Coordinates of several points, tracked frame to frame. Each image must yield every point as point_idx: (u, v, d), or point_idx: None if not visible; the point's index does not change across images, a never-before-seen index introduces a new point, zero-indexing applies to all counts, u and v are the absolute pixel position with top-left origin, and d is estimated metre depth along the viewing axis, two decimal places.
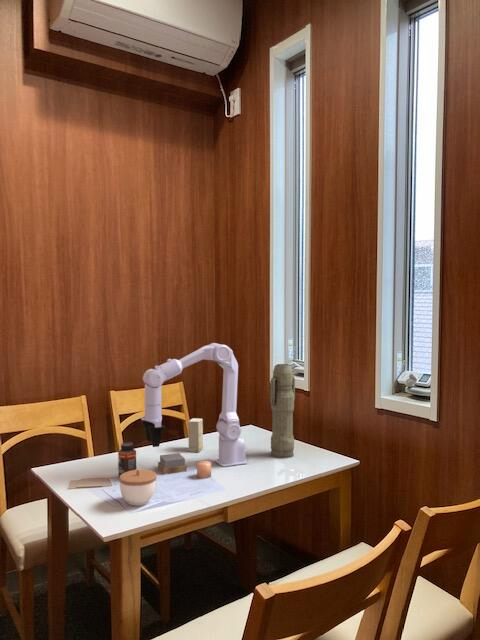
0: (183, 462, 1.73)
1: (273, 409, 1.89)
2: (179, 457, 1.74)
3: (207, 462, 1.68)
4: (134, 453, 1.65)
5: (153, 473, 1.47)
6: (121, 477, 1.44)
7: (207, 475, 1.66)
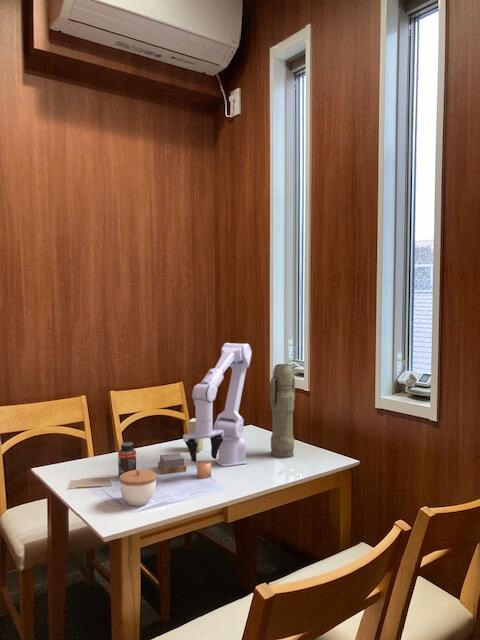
0: (182, 462, 1.73)
1: (273, 409, 1.89)
2: (179, 457, 1.74)
3: (207, 462, 1.68)
4: (134, 453, 1.65)
5: (153, 473, 1.47)
6: (121, 477, 1.44)
7: (207, 475, 1.66)
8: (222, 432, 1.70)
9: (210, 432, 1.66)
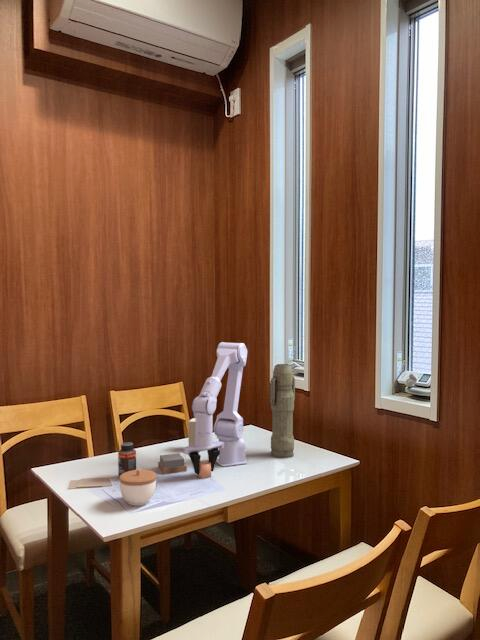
0: (182, 462, 1.72)
1: (273, 409, 1.89)
2: (179, 457, 1.74)
3: (207, 462, 1.68)
4: (134, 453, 1.65)
5: (153, 473, 1.47)
6: (121, 477, 1.44)
7: (207, 475, 1.66)
8: (222, 444, 1.70)
9: (210, 445, 1.66)
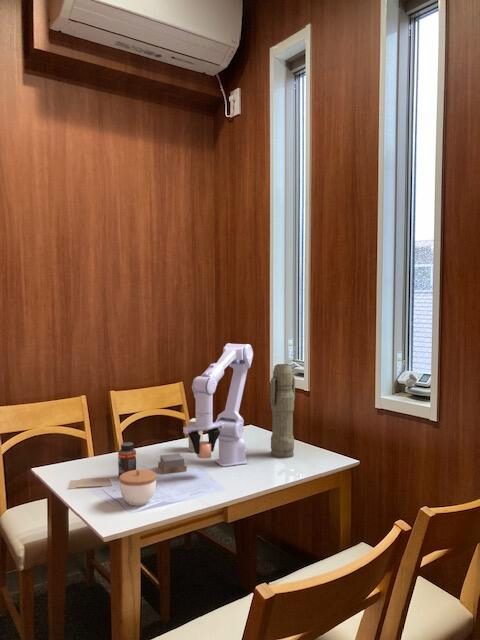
0: (182, 462, 1.72)
1: (273, 409, 1.89)
2: (179, 457, 1.73)
3: (207, 442, 1.68)
4: (134, 453, 1.65)
5: (153, 473, 1.47)
6: (121, 477, 1.44)
7: (207, 455, 1.65)
8: (222, 425, 1.70)
9: (210, 424, 1.66)
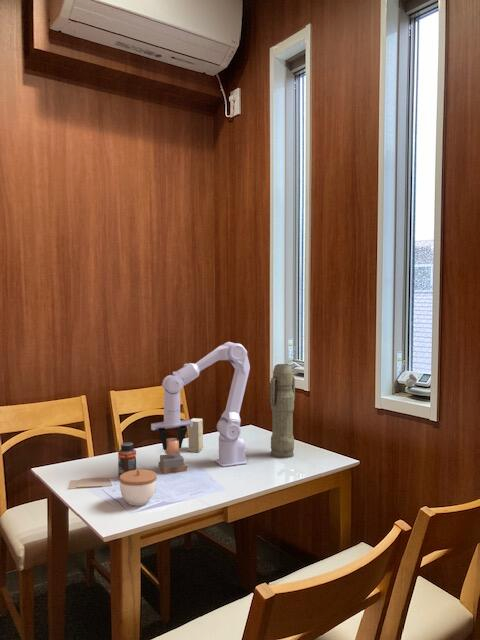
0: (182, 462, 1.72)
1: (273, 409, 1.89)
2: (178, 457, 1.74)
3: (175, 439, 1.75)
4: (134, 453, 1.65)
5: (153, 473, 1.47)
6: (121, 477, 1.44)
7: (174, 451, 1.72)
8: (190, 422, 1.76)
9: (177, 422, 1.72)
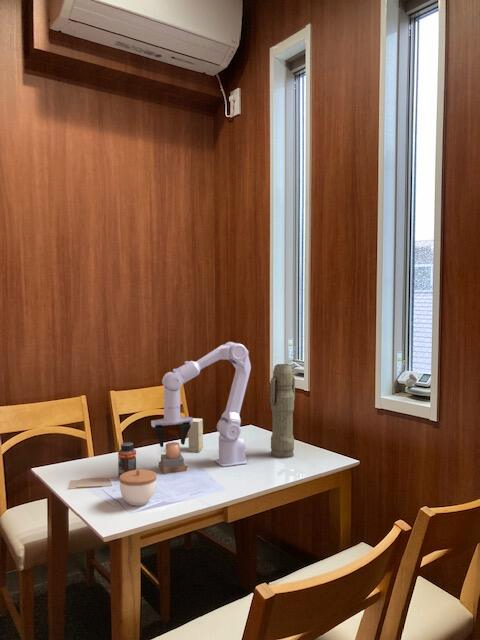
0: (182, 462, 1.73)
1: (273, 409, 1.89)
2: (179, 457, 1.74)
3: (175, 443, 1.75)
4: (134, 453, 1.65)
5: (153, 473, 1.47)
6: (121, 477, 1.44)
7: (174, 455, 1.72)
8: (190, 419, 1.76)
9: (177, 419, 1.72)
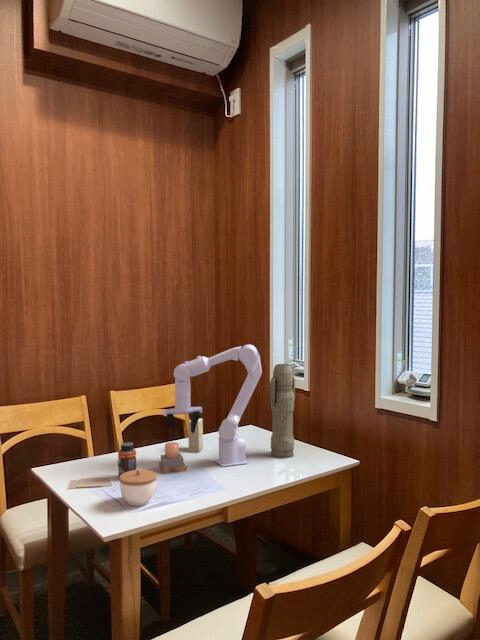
0: (182, 462, 1.73)
1: (273, 409, 1.89)
2: (178, 457, 1.74)
3: (175, 443, 1.75)
4: (134, 453, 1.65)
5: (153, 473, 1.47)
6: (121, 477, 1.44)
7: (174, 455, 1.73)
8: (200, 409, 1.85)
9: (187, 408, 1.81)
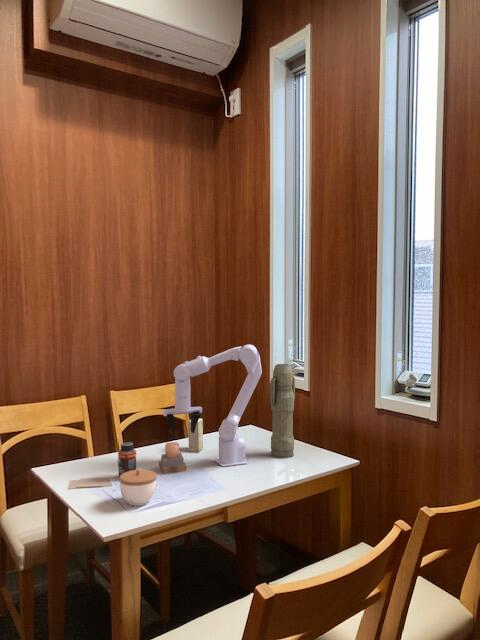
0: (182, 462, 1.72)
1: (273, 409, 1.89)
2: (179, 457, 1.74)
3: (175, 443, 1.75)
4: (134, 453, 1.65)
5: (153, 473, 1.47)
6: (121, 477, 1.44)
7: (174, 455, 1.72)
8: (200, 409, 1.85)
9: (187, 408, 1.81)
